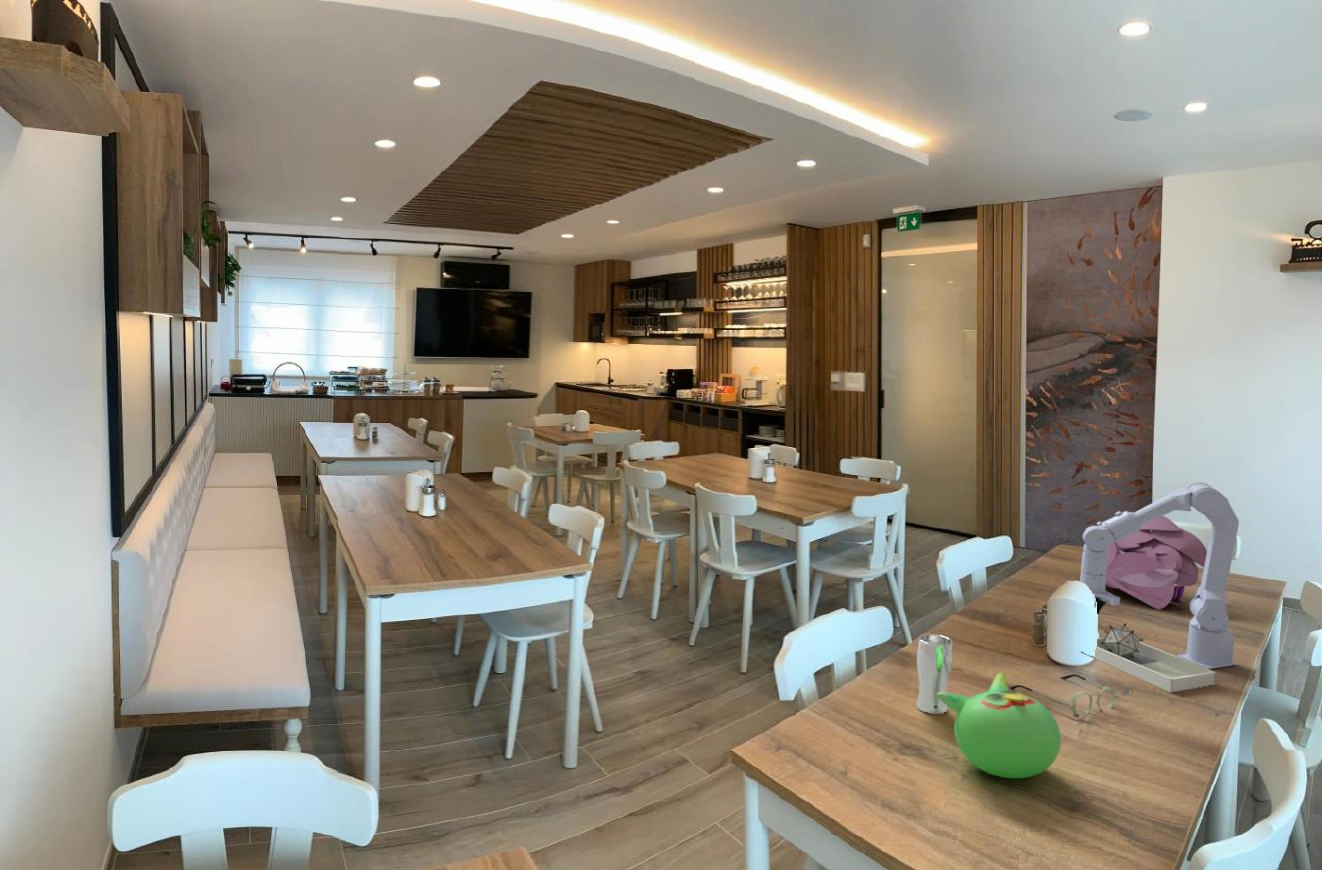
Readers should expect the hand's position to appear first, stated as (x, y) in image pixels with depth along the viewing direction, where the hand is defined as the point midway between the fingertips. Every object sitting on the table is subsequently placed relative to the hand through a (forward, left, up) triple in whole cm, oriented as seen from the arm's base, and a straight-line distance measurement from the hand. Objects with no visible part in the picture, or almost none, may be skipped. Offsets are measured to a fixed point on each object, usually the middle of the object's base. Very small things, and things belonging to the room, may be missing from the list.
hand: (1089, 623), depth 193 cm
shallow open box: (0, +16, -5) cm, 17 cm away
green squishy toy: (+67, +42, -6) cm, 79 cm away
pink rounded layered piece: (-50, -27, -6) cm, 57 cm away
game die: (0, +9, -6) cm, 11 cm away
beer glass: (+64, +19, -6) cm, 67 cm away
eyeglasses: (+32, +23, -6) cm, 40 cm away
